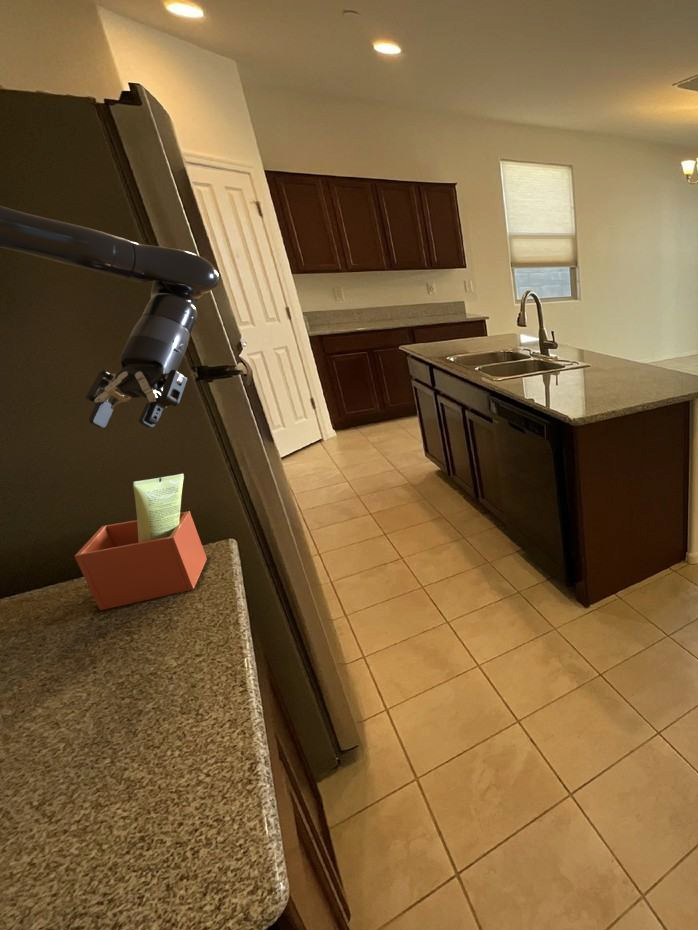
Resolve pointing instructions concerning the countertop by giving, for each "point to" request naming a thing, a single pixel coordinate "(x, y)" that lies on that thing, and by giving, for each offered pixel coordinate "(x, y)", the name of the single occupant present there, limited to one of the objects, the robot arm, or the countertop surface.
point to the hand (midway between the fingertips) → (121, 425)
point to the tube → (158, 506)
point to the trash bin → (140, 563)
